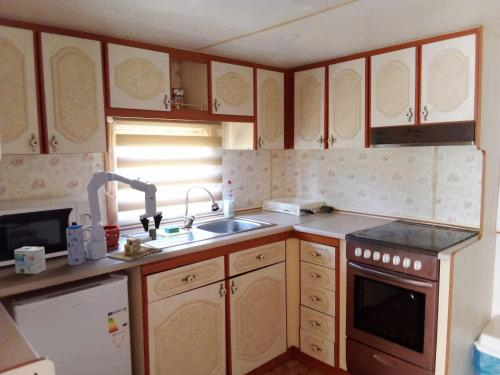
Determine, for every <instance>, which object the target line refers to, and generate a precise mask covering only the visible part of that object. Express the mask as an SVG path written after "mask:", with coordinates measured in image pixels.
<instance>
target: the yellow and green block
mask: <svg viewBox="0 0 500 375" xmlns="http://www.w3.org/2000/svg"><path fill="white" fill-rule="evenodd" d="M157 239H158V237H157V229H155V228H154V227H153V228H149V230H148V236H147V237H143V238H140V240H141V245H142V244H145V243H149V242H154V241H156V240H157Z"/></svg>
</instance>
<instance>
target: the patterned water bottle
mask: <svg viewBox="0 0 500 375" xmlns="http://www.w3.org/2000/svg"><path fill="white" fill-rule="evenodd" d="M65 234H66V246H67V257H68V258H67V259H68V261H67V264H68V265H71V266H74V265H75V266H77V265H81V264H84V263H86V262H87V261H86V249H85V238H84V237H85V236H84V228H83V226H82V225H80V224H78V222H77V221H72V222H71V224H70V225H68V227H66V231H65Z"/></svg>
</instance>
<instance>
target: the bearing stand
mask: <svg viewBox="0 0 500 375" xmlns="http://www.w3.org/2000/svg"><path fill="white" fill-rule="evenodd" d="M140 239H141V238H139V237H134V236H133V237H129V238H126V240H125V241H126V244H130V245H133V250H134V255H126V254H125V251H124V250H122V251H118V252H116V253H112V254H111V255H108V256H107V258H109V259H113V260H117V261H123V262H126V263H131V262H134V261H137V260H140V259H143V258H146V257H149V256H152V255H151V254H153V255H155V254H154V253H156V254H158V253H157V252H159V253H161V252H160V251H162V252H163V249H161V248H158V247H157V248H156V247H150V246H145V245H142V244H141V240H140ZM128 249H129V248H128ZM148 255H149V256H148ZM145 256H146V257H145Z"/></svg>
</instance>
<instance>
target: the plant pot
mask: <svg viewBox="0 0 500 375" xmlns="http://www.w3.org/2000/svg"><path fill="white" fill-rule="evenodd" d="M103 229H104V230H105V232H106V235H105V237H106V248H107V251H112V250H116V249H117V248H119V246H120V243H119V240H120V234H121V233H120V226H119V225H115V224H108V225H103Z"/></svg>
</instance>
